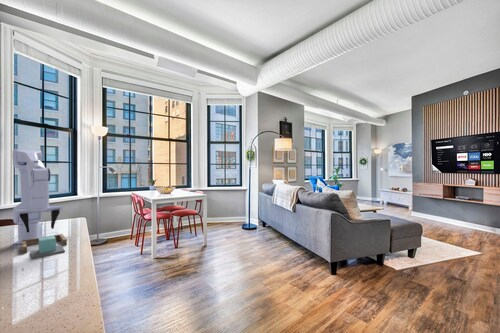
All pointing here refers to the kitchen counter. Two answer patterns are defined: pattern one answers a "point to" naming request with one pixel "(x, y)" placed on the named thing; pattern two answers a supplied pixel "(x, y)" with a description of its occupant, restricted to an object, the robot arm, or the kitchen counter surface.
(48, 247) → the teal block
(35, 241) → the brown u-shaped bracket
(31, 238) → the robot arm
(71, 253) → the kitchen counter surface
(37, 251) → the charcoal mat
